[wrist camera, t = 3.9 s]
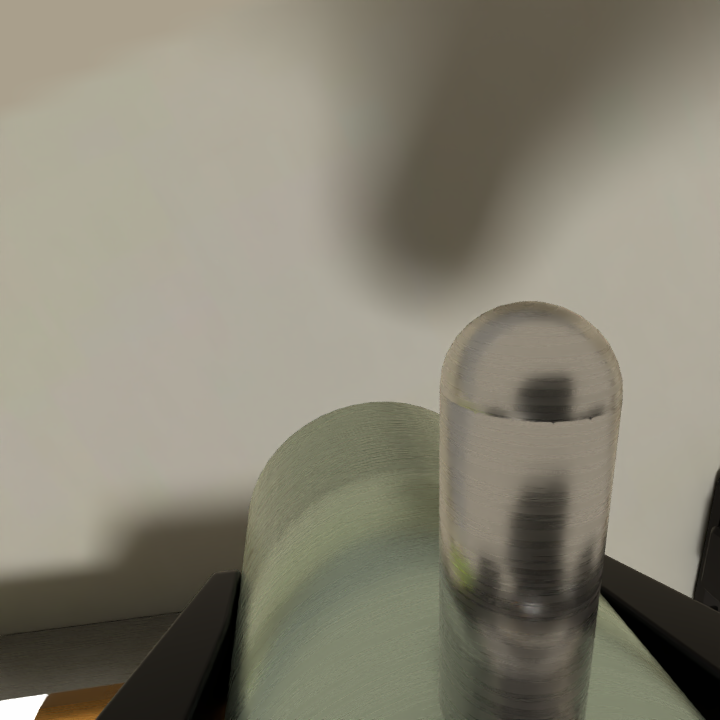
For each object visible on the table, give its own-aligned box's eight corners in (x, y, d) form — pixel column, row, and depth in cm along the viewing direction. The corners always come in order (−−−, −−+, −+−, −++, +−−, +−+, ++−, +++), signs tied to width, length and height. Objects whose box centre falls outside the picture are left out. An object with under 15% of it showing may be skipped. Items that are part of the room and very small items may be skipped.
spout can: (510, 235, 9) (1209, 301, 2) (494, 605, 11) (808, 1191, 4) (208, 251, 8) (-130, 416, 2) (257, 641, 10) (209, 1391, 4)
